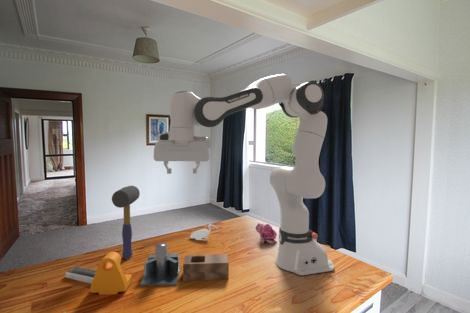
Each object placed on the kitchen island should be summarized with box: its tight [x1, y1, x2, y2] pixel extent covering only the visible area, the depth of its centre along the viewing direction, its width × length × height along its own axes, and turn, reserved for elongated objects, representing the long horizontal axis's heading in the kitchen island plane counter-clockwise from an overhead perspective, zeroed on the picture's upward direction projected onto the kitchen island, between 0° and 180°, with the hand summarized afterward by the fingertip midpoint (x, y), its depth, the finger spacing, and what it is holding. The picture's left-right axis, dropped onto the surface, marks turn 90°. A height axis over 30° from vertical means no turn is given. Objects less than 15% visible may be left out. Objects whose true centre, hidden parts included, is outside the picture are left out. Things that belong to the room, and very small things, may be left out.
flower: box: [255, 223, 278, 245], centre depth 127 cm, size 11×10×10 cm
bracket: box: [89, 251, 133, 296], centre depth 86 cm, size 11×7×12 cm, turn 95°
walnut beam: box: [182, 253, 230, 282], centre depth 95 cm, size 16×7×6 cm, turn 95°
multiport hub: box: [65, 266, 97, 285], centre depth 92 cm, size 4×14×2 cm, turn 72°
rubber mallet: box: [111, 185, 141, 260], centre depth 107 cm, size 12×8×30 cm, turn 0°
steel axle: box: [154, 242, 168, 277], centre depth 92 cm, size 4×4×11 cm
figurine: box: [190, 223, 219, 241], centre depth 127 cm, size 14×4×9 cm, turn 84°
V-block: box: [139, 252, 182, 288], centre depth 93 cm, size 12×12×6 cm
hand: (182, 173), depth 96 cm, fingers open, 8 cm apart
